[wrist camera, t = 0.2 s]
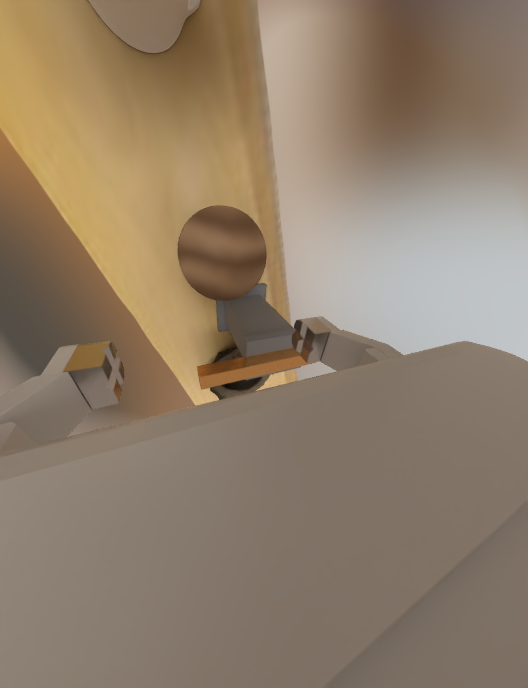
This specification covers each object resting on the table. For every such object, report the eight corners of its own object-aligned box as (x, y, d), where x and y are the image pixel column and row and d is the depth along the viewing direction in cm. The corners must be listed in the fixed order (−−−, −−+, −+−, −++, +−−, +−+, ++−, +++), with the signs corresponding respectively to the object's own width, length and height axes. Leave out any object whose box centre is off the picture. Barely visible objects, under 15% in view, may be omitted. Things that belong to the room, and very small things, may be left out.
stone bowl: (187, 362, 67) (193, 380, 60) (249, 318, 69) (261, 330, 62) (227, 397, 83) (234, 414, 76) (275, 361, 85) (287, 374, 78)
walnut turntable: (169, 201, 30) (169, 201, 29) (267, 209, 36) (270, 209, 35) (185, 301, 39) (185, 304, 38) (261, 295, 45) (263, 297, 44)
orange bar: (196, 366, 37) (199, 377, 35) (311, 344, 46) (319, 351, 44) (198, 378, 39) (201, 389, 36) (308, 354, 48) (316, 362, 45)
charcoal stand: (215, 286, 56) (244, 333, 37) (264, 283, 62) (312, 323, 42) (217, 329, 64) (243, 387, 45) (261, 323, 70) (301, 372, 50)
